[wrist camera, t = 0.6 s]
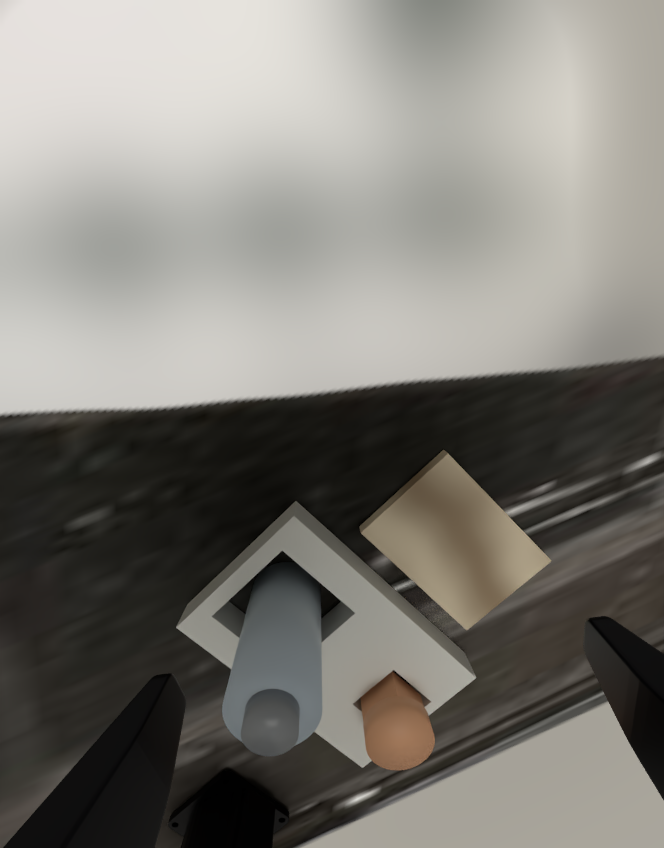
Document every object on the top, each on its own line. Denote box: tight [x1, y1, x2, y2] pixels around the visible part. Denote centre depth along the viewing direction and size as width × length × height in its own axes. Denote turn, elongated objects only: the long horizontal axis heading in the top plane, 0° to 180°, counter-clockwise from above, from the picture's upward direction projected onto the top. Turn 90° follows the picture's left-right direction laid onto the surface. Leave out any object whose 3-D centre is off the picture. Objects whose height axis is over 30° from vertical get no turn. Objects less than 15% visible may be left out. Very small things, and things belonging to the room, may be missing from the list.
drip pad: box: [359, 450, 551, 630], centre depth 24 cm, size 7×10×1 cm
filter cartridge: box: [222, 562, 322, 756], centre depth 20 cm, size 4×4×9 cm
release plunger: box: [360, 671, 435, 770], centre depth 24 cm, size 4×4×3 cm
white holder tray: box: [176, 501, 476, 768], centre depth 24 cm, size 10×16×2 cm, turn 45°
